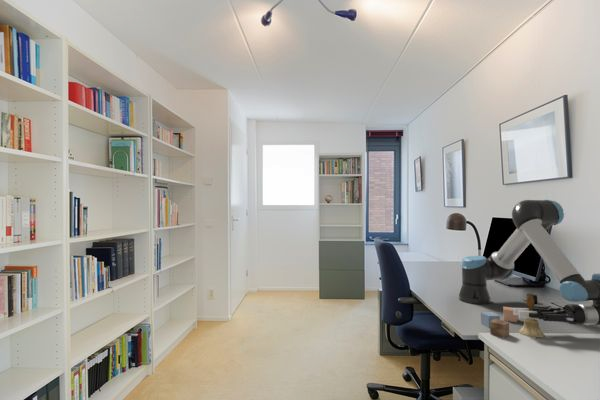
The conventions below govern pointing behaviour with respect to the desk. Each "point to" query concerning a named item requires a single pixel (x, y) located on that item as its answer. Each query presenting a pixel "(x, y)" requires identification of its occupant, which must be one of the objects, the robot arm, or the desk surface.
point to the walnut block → (499, 328)
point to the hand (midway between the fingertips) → (516, 312)
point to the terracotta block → (509, 314)
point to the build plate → (534, 299)
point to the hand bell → (531, 321)
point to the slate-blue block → (488, 318)
